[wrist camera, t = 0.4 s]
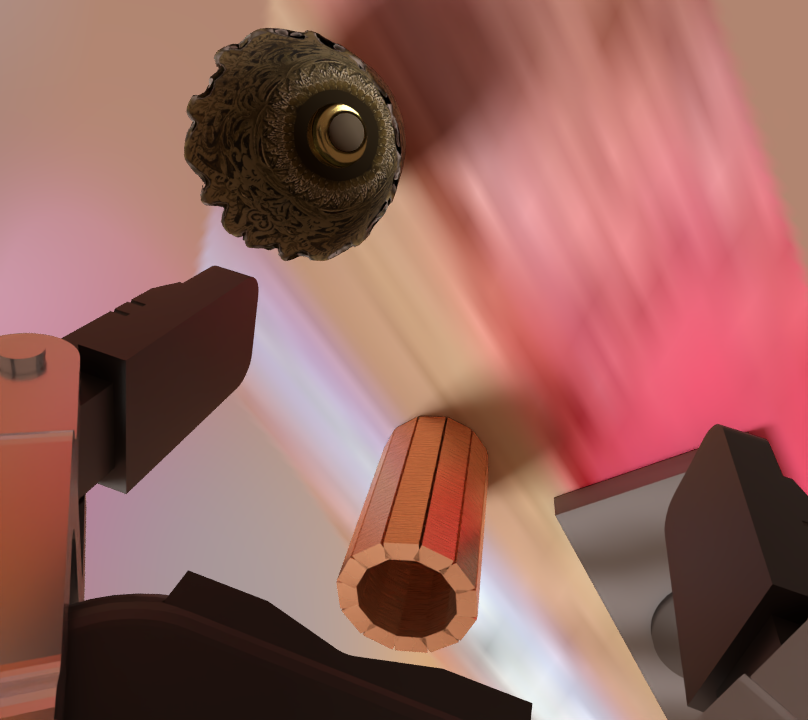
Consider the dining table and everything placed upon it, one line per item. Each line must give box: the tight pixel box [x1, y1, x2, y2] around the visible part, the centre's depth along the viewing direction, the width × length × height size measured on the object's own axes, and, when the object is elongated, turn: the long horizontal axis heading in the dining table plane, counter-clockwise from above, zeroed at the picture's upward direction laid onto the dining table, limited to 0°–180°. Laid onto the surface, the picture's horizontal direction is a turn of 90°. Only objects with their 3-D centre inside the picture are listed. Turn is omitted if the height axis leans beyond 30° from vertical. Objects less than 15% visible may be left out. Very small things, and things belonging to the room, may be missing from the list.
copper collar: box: [337, 417, 488, 653], centre depth 30 cm, size 6×6×10 cm
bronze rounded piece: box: [184, 28, 406, 261], centre depth 25 cm, size 8×7×8 cm
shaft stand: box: [554, 432, 749, 720], centre depth 31 cm, size 20×10×11 cm, turn 29°
